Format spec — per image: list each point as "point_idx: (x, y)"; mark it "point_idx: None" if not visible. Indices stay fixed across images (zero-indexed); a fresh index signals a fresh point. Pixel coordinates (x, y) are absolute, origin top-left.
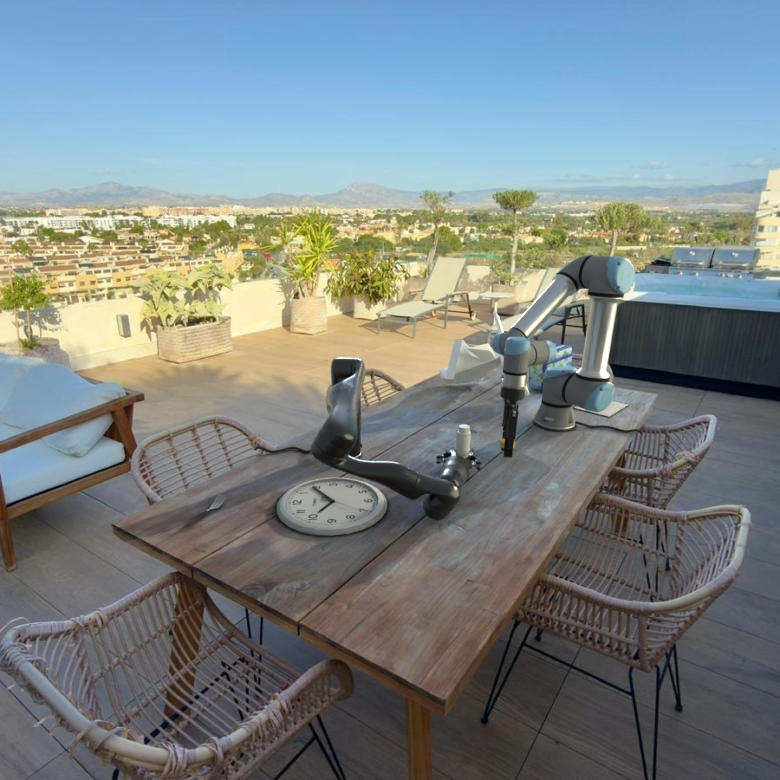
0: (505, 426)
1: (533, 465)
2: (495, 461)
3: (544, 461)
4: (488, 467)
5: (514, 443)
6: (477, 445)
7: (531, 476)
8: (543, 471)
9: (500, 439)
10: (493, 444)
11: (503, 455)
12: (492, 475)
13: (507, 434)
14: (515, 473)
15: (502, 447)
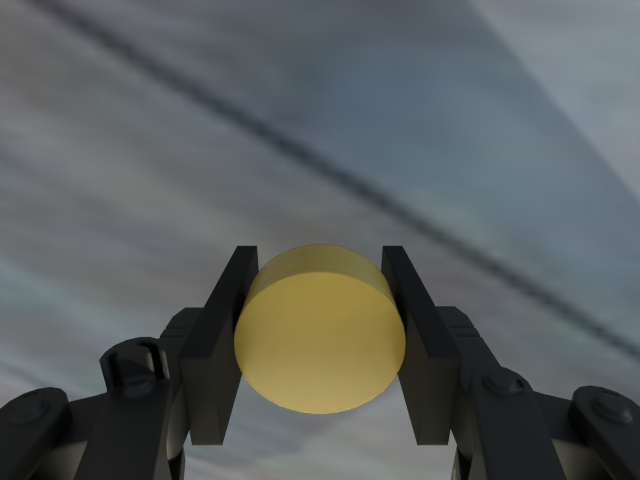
0: (476, 456)
1: (245, 398)
2: (266, 174)
3: (311, 456)
4: (140, 103)
5: (274, 396)
6: (602, 47)
7: (86, 364)
8: None
9: (347, 279)
10: (601, 199)
11: (253, 248)
12: (3, 119)
13: (27, 447)
14: (97, 284)
15: (266, 266)
